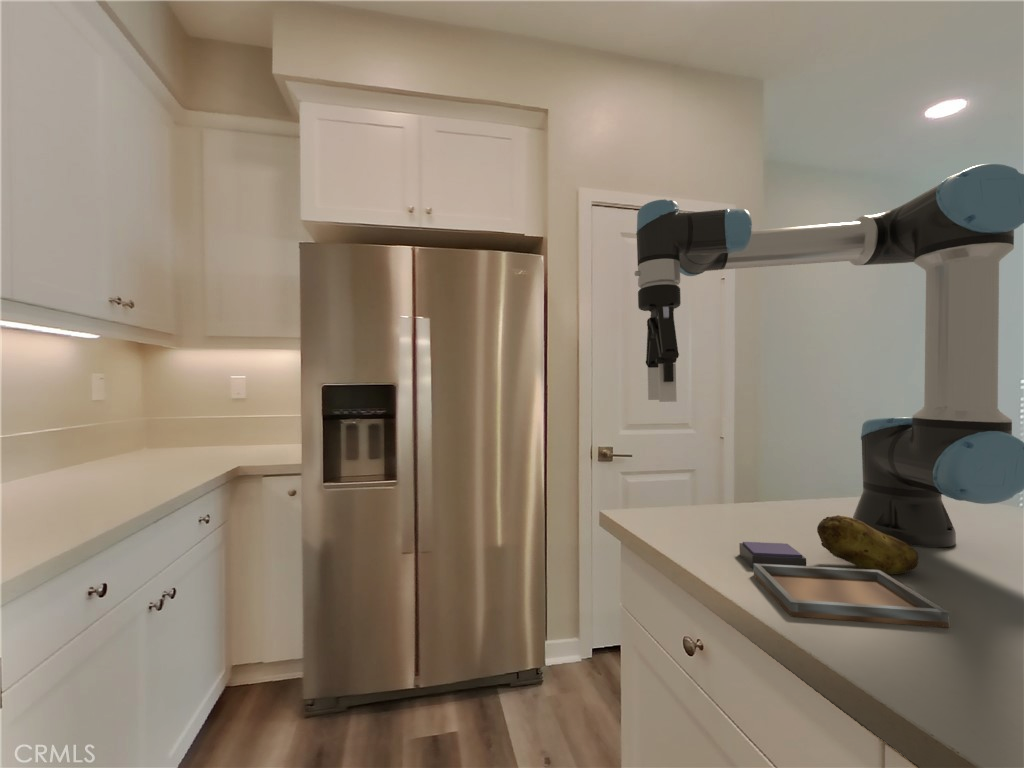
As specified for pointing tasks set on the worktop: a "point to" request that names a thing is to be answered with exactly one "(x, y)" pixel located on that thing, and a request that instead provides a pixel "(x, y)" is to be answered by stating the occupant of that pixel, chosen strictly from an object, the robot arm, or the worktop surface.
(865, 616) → the metal baking tray
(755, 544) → the ink pad
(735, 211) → the robot arm
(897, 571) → the potato
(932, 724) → the worktop surface
